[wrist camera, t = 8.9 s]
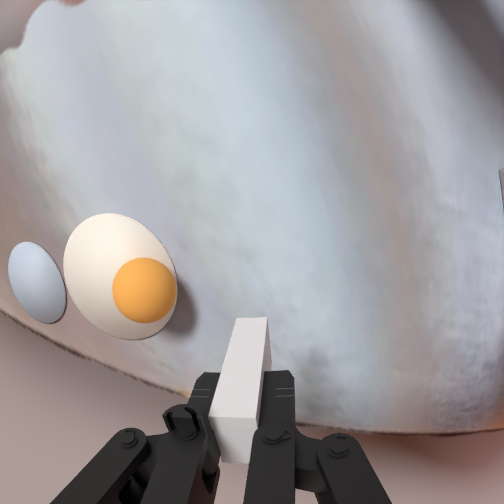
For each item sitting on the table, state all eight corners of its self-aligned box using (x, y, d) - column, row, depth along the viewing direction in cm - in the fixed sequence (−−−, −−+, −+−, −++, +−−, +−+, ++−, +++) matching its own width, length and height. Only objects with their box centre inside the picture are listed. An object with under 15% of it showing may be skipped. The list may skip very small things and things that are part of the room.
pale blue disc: (53, 237, 27) (51, 237, 27) (76, 324, 30) (75, 325, 30) (2, 245, 28) (0, 246, 28) (23, 320, 31) (22, 321, 31)
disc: (164, 204, 25) (163, 204, 25) (189, 339, 29) (188, 340, 28) (53, 222, 27) (52, 222, 26) (83, 336, 30) (82, 336, 30)
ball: (103, 259, 25) (160, 247, 28) (115, 316, 26) (169, 303, 29) (111, 272, 20) (180, 257, 23) (126, 341, 22) (190, 323, 24)
